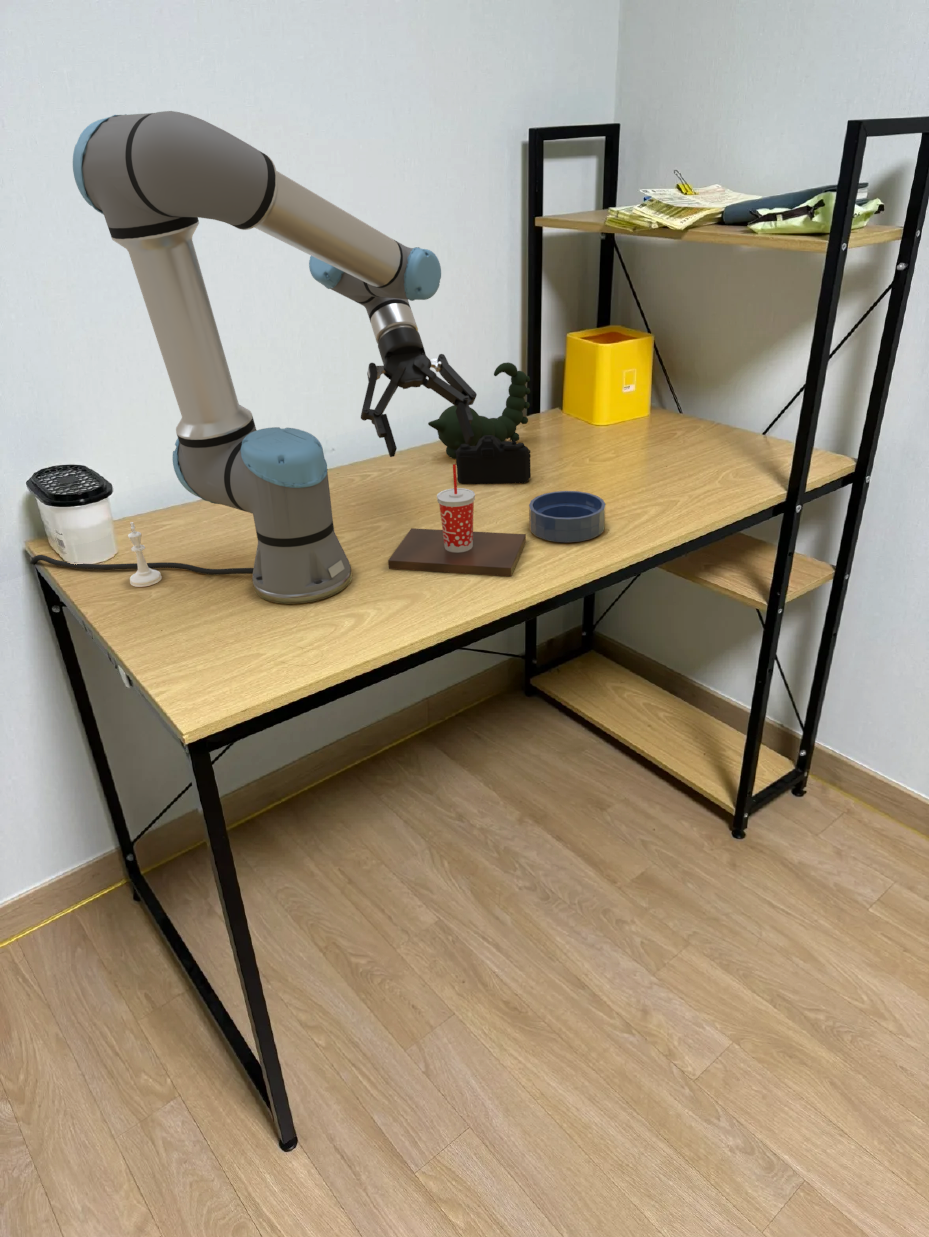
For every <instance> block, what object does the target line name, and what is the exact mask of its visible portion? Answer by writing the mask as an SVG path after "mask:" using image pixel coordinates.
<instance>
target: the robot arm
mask: <svg viewBox="0 0 929 1237" xmlns="http://www.w3.org/2000/svg"><path fill="white" fill-rule="evenodd" d="M72 173H73V178H74V181H75V184H76V187H77V189H78V191H79V193H80V195H81V196H82V198H83V199H84V201H85V202H86V204H88V205H90V207H92V208H93V209H94V210H95V211H96V212H98V213H100V214H101V215H103V217H104V220H105V223H106V226H107V228H108V231H109V235H110V237H111V240H112V241H114V242H115V243H117V244H118V245H119V246H121V247H123V248H124V249H126V250H127V253H128V255H129V258H130V262H131V264H132V267H133V270H134V274H135V276H136V279H137V283H138V285H139V289H140V292H141V295H142V298H143V301H144V304H145V307H146V310H147V313H148V318H149V320H150V322H151V326H152V329H153V333H154V335H155V339H156V342H157V344H158V347H159V351H160V353H161V357H162V359H163V360H162V361H163V363H164V366H165V370H166V372H167V375H168V378H169V382H170V385H171V388H172V391H173V393H174V396H175V400H176V403H177V406H178V409H179V412H180V416H181V419H180V421H179V422H178V424H177V426H176V427H175V433H176V436H177V438H176V441H175V443H174V446H175V448H174V450H172V466H173V471H174V473H175V475H176V478H177V480H178V481H179V483H180V484H181V486H182V487H183V488H184V489H185V490H186V491H188V492H189V493H190V494H192V495H193V496H195V497H198V498H200V499H201V500H203V501H204V502H205V501H206V502H208V503H211V504H214V505H222V506H225V507H229V508H232V509H235V510H239V511H242V512H246V513H249V514H252V516H253V522H254V527H255V534H256V538H257V546H256V551H255V557H254V563H253V567H232V568H230V567H229V568H207V567H202V566H201V567H200V566H197V565H192V564H189V563H182V562H165V561H163V562H146V563H147V565H148V567H149V568H151V569H152V570H153V569H177V570H185V571H189V572H193V573H196V574H197V573H198V574H200V575H201V574H202V575H208V576H210V575H211V576H223V575H252V585H253V590H254V593H255V594H256V595H257V596H258V597H259V598H261V599H263V600H265V601H267V602H271V603H276V604H282V605H296V604H299V605H300V604H308V603H313V602H317V601H321V600H325V599H328V598H330V597H332V596H335V595H336V594H338V593H340V592H342V591H343V590H344V589H346V588H347V587H348V586H349V585H350V583H351V581H352V579H353V575H352V566H351V564H350V560H349V558H348V557H347V554H346V552H345V550H344V548H343V546H342V544H341V542H340V540H339V538H338V536H337V534H336V532H335V525H334V518H333V508H332V501H331V500H332V499H331V492H330V483H329V475H328V473H329V472H328V462H327V460H326V458H325V453H324V448H323V446H322V443H321V442H320V440H319V439H318V438H317V437H316V436H315V435H313V434H312V433H310V432H308V431H305V430H302V429H299V428H294V427H285V428H281V427H279V426H276V427H275V426H273V427H264V428H260V429H257V427H256V423H255V419H254V415H253V413H252V411H251V410H250V409H249V408H246V407H245V406H243V405H241V404H240V403H239V399H238V396H237V393H236V388H235V385H234V381H233V378H232V375H231V372H230V369H229V365H228V361H227V358H226V353H225V350H224V347H223V343H222V339H221V336H220V333H219V329H218V325H217V321H216V318H215V316H214V311H213V308H212V305H211V302H210V298H209V295H208V291H207V288H206V284H205V280H204V276H203V273H202V269H201V266H200V263H199V259H198V256H197V252H196V249H195V245H194V241H193V237H194V234H195V232H196V230H197V228H198V226H199V225H200V221H199V219H207V220H214V221H218V222H222V223H225V224H228V225H230V226H232V227H234V228H236V229H238V230H241V231H248V230H251V229H256V230H258V231H260V232H263V233H265V234H267V235H269V236H271V237H272V238H274V239H277V240H279V241H281V242H283V243H285V244H287V245H289V246H291V247H293V248H295V249H297V250H298V251H301V252H303V253H305V254H307V255H309V260H308V266H309V267H308V268H309V272H310V275H311V277H312V278H313V279H314V280H315V281H316V282H318V283H319V284H321V285H322V286H324V288H326V289H328V290H331V291H332V292H333V291H334V292H335V293H338V294H339V295H341V296H343V297H345V298H347V299H349V300H351V301H352V302H353V301H354V302H355V303H357V304H359V305H361V306H363V307H364V308H365V310H366V313H367V316H368V319H369V323H370V325H371V329H372V332H373V335H374V338H375V342H376V344H377V349H378V352H379V356H380V358H381V361H382V364H383V365H377V364H376V363H375V362H369V364H368V368H367V372H366V374H367V381H368V383H367V387H366V392H365V396H364V400H363V404H362V408H361V412H360V420H361V421H367V420H369V421H371V424H372V425H374V428H375V432H376V435H377V437H378V438H379V439H381V438H383V439H384V442H385V446H386V450H387V452H388V455H389V458H392V457H395V456H396V452H397V449H398V448H397V444H396V441H395V437H394V434H393V431H392V428H391V424H390V421H389V418H388V415H387V413H384V412H385V410H386V409H387V407H388V405H389V403H390V401H391V399H392V398H393V396H394V395H395V393H396V391H397V390H398V388H402V390H407V389H410V388H421V386H423V387H425V388H426V389H428V390H431V391H433V392H434V393H436V394H438V396H440V397H442V398H443V399H445V400H446V401H447V402H449V403H450V404H452V406H453V405H455V406H456V407H457V409H456V411H455V412H456V415H457V418H458V421H459V424H460V427H461V430H462V433H463V436H464V439H465V442H466V445H468V444H471V442H472V440H473V437H474V434H473V431H472V428H471V425H470V424H471V422H472V420H473V416H472V413H471V410H470V408H471V406H472V405H474V403H475V400H476V398H477V392H476V391H475V389H473V388H472V387H471V386H470V385H469V383H467V382H466V380H465V379H463V378H462V376H461V375H460V374H459V373H458V372H457V371H456V370H455V368H453V367H452V366H451V364H450V363H449V361H448V359H447V358H446V355H445V354H444V353H439V354H438V356H437V357H435V358H432V359H431V358H429V357H428V356H427V354H426V350H425V347H424V343H423V340H422V338H421V334H420V332H419V328H418V325H417V322H416V319H415V316H414V313H413V311H412V307H411V304H410V302H409V301H411V302H414V301H415V300H416V301H420V300H421V301H426V300H429V299H431V298H433V297H434V295H435V294H436V293H437V291H438V290H439V288H440V283H441V278H442V267H441V263H440V260H439V258H438V256H437V255H436V253H434V252H433V251H432V250H430V249H426V248H421V247H419V246H418V247H408V246H406V245H404V244H403V243H401V242H399V241H397V240H395V239H393V238H391V237H390V236H388V235H386V234H385V233H383V232H381V231H380V230H378V229H377V228H374V226H371V225H369V224H368V223H366V222H365V221H362V220H361V219H360V218H357V217H356V216H354V215H352V214H351V213H349V212H347V211H345V209H342V208H340V207H339V206H337V205H335V204H334V203H332V202H331V201H328V200H327V199H325V198H324V197H322V196H320V195H319V194H317V193H315V192H313V191H311V189H309V188H307V187H305V186H303V185H302V184H300V183H299V182H296V181H295V180H293V179H291V177H288V176H286V175H285V174H283V173H282V172H280V171H278V170H277V168H276V165H275V163H274V161H273V159H271V157H270V156H269V155H268V154H266V153H264V152H262V150H259V149H257V148H255V147H254V146H252V145H251V144H249V143H248V142H246V141H245V140H242V139H240V138H239V137H237V136H235V135H233V134H232V133H230V132H228V131H226V130H224V129H223V128H220V127H218V126H216V125H214V124H212V123H210V122H209V121H206V120H205V119H202V118H199V117H196V116H194V115H192V114H189V113H185V112H180V111H175V110H164V111H157V112H149V113H134V114H126V113H125V114H113V115H111V116H108V117H105V118H101V119H97V120H96V121H93V122H91V123H90V124H88V125H87V126H86V127H85V128H84V129H83V130H82V132H81V133H80V135H79V137H78V138H77V142H76V144H74V149H73V155H72ZM431 368H433V369H435V371H434V370H432V369H431ZM437 373H439V375H440V377H439V376H438V375H437ZM382 375H384V377H386V378H387V379H388V380H389V382H388V383H387V386H386V388H385V390H384V391H383V393H382V395H381V397H380V399H379V400H378V402H377V404H376V406H375V408H371V406H372V401H373V398H374V393H375V389H376V385H377V381H378V380H380V379H381V376H382ZM441 377H442V378H441ZM39 561H42V562H46V563H48V564H50V565H52V566H53V565H54V566H56V567H62V568H69V569H79V570H89V571H117V570H118V571H120V570H138V565H137V562H136V563H135V562H133V563H101V564H100V563H83V564H77V565H76V564H75V565H74V564H70V563H67V562H68V561H66V562H64V561H65V560H60V559H59V560H58V559H56V558H53V557H50V556H48V555H45V554H37V555H35V556H33V557H32V558H31V560H30V561H29V564H31V565H33V564H37V563H38V562H39Z"/></svg>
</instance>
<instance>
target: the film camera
mask: <svg viewBox="0 0 929 1237" xmlns="http://www.w3.org/2000/svg"><path fill="white" fill-rule="evenodd" d="M454 453H456V459H455V462H456V463H455V464H456V479H457V484H460V485H513V484H515V485H516V484H526V483H528V482H529V481H530V479H531V478H532V477H531V475H532V473H531V469H532V468H531V450H530V449H529V447H528V446H526V445H525V443H524V442H518V443H517V441H515V440H513V441H511V440H505V441H503V442H501V441H500V440H499V439H498V438H497V437H495V436H493V435H485V436H483V437H482V438H480V439H479V441H478V443H477V445H476V446H469V444H468V445H466V444H461V445H460V448H458V449H457V450H454Z"/></svg>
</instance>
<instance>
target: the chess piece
mask: <svg viewBox="0 0 929 1237" xmlns="http://www.w3.org/2000/svg"><path fill="white" fill-rule="evenodd" d="M129 524H130V531H131V532H130V533H128V535H127V537H128V539H129V540H130V542H131V544H132V545H133V546H131V548H130V551H131V552H134V553H135V557H136V563H137V565H138V569H136V572H135V573H133V574H131V576H130V577H129V584H130V585H131V586H133V587H136V588H144V587H145V588H146V587H149V586H153V585H155V584H158V583H159V582H160V581H161V580H162V579H163V576H162V574H161V573H162V572H160V571H159V570H157V569H153V568H152V569H151V568H149V567H148V565H147V563H148V562H147V561H146V558H145V556H144V553H143V551H145V549H146V546H145V545H144V544H142V532H140V531H137V530H136V526H135V524H134V521H130V522H129Z"/></svg>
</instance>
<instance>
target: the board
mask: <svg viewBox="0 0 929 1237" xmlns="http://www.w3.org/2000/svg"><path fill="white" fill-rule="evenodd" d="M526 543H527V535H526V533H509V532H492V531H491V532H490V531H473V547H472V549H470V550H468V551H465V552H459V553H456V552H450V551H447V550H446V549H445V545H444V538H443V530H442V529H434V528H433V529H432V528H413V527H411V528H410V529H409V531H408V532H407V533H406V535H405V536H404V538H403V539H402V540H401V542H400V543H399V544H398V546H397V547H396V548H395V550H394V552H393V553H392V554H391V555H390V556H389V558H388V560H387V563H388V570H389V569H390V570H403V571H417V572H418V571H419V572H432V573H433V572H435V573H449V574H450V573H452V574H466V575H481V576H482V575H483V576H496V577H497V576H498V577H512V576H513V573H514V571H515V568H516V567H517V565H518V562H519V560H520V557H521V555H522V552H523V550H524V548H525V546H526Z"/></svg>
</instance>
